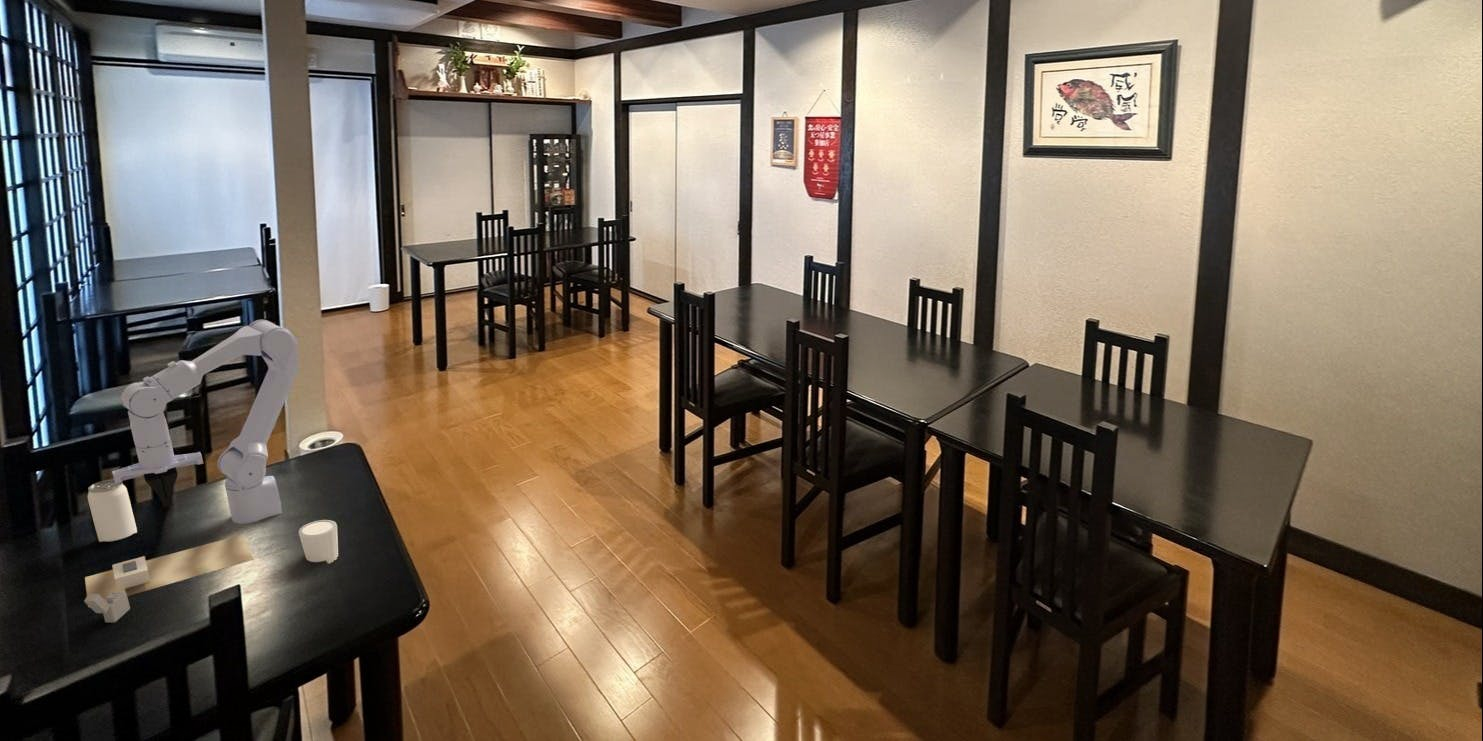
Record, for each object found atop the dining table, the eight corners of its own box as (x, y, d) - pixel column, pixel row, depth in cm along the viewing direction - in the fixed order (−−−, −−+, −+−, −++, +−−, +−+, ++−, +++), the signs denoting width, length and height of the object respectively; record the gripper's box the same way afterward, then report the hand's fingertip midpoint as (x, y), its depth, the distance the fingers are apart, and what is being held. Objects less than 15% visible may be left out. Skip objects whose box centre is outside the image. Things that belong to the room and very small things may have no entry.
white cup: (303, 571, 158) (298, 539, 156) (303, 554, 164) (298, 523, 162) (342, 562, 161) (337, 531, 159) (340, 546, 167) (336, 516, 165)
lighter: (122, 612, 145) (112, 574, 142) (132, 612, 145) (122, 574, 142) (93, 638, 138) (82, 598, 135) (104, 637, 138) (93, 597, 135)
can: (117, 547, 165) (103, 494, 161) (91, 543, 166) (76, 490, 162) (145, 531, 171) (133, 480, 167) (119, 527, 172) (106, 476, 168)
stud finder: (147, 567, 157) (144, 554, 156) (150, 581, 152) (147, 568, 151) (115, 576, 154) (111, 563, 153) (117, 590, 149) (114, 577, 148)
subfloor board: (243, 538, 169) (242, 534, 169) (254, 563, 160) (253, 559, 160) (86, 581, 153) (84, 577, 153) (89, 612, 145) (88, 607, 144)
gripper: (108, 459, 152) (125, 523, 156) (199, 439, 160) (212, 500, 165) (105, 446, 157) (121, 509, 161) (194, 428, 166) (206, 488, 170)
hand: (167, 504), depth 163 cm, fingers closed
